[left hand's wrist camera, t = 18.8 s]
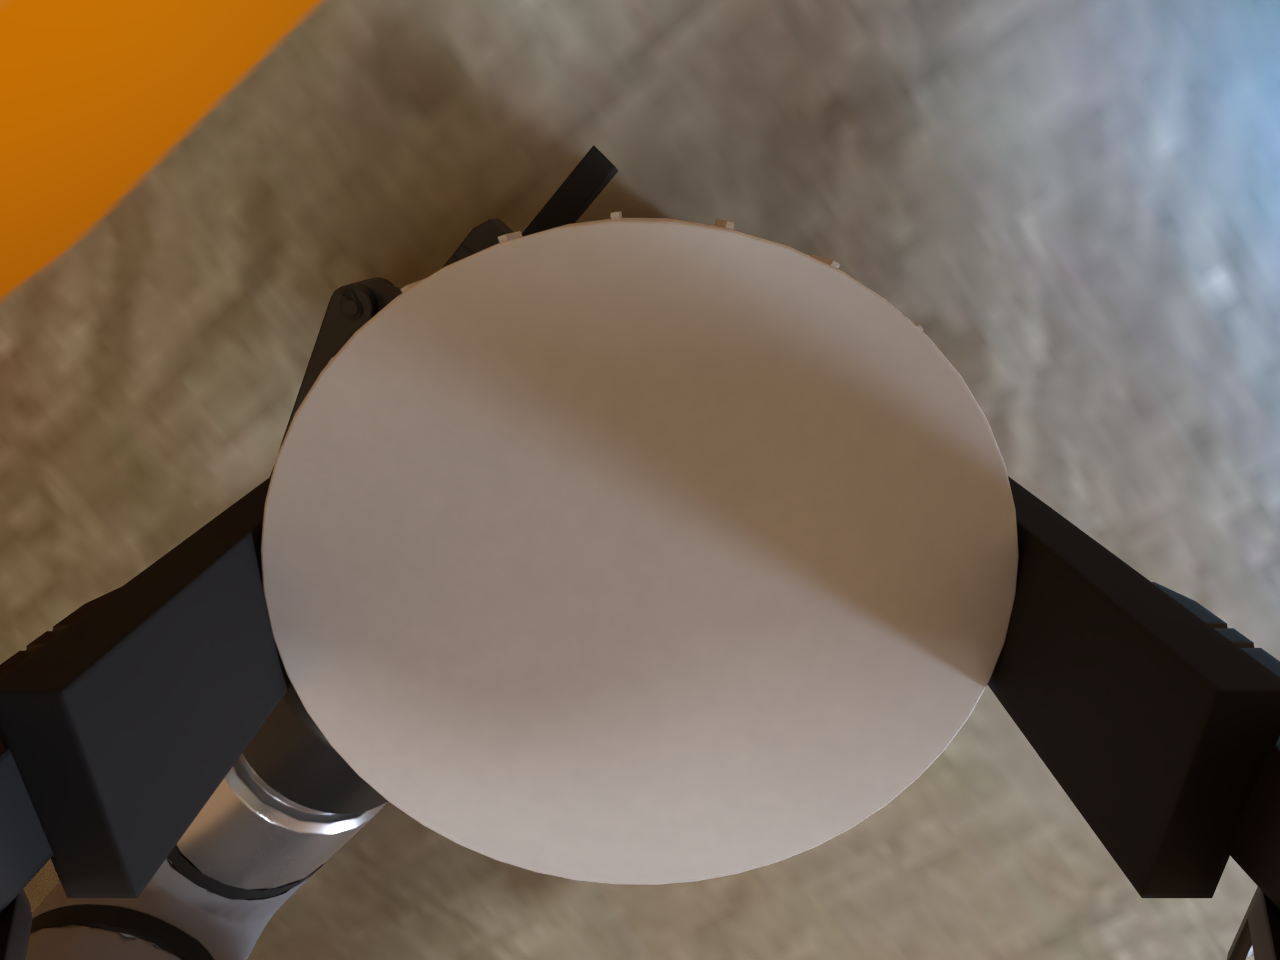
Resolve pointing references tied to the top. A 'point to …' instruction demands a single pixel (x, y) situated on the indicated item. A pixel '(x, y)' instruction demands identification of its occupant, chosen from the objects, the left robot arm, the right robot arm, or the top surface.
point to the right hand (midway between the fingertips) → (738, 289)
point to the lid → (639, 551)
